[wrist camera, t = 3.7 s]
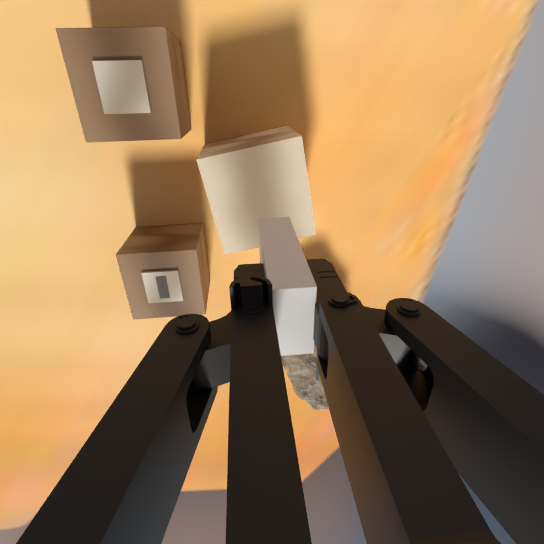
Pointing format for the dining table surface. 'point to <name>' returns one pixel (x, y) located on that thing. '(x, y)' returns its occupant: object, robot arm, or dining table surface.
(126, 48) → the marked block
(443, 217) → the dining table surface
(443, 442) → the robot arm
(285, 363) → the stone
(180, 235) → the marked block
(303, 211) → the plain block
